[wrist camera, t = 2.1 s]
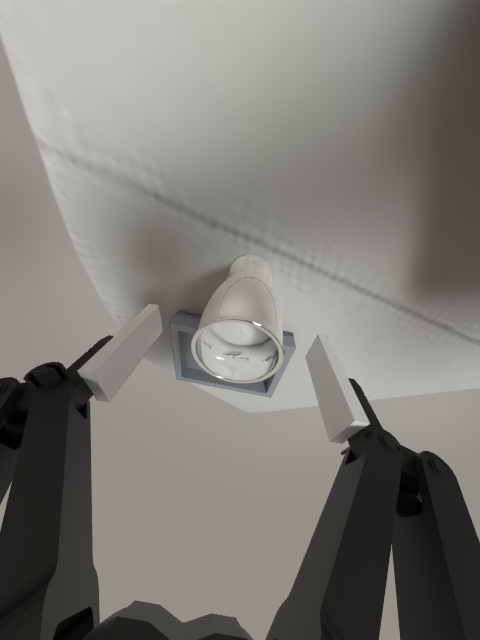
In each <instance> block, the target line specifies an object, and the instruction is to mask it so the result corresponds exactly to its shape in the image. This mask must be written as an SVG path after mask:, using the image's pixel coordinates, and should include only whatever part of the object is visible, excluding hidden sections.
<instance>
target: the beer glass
mask: <svg viewBox="0 0 480 640" xmlns="http://www.w3.org/2000/svg"><path fill="white" fill-rule="evenodd" d="M271 281H272V271H271V268H270V266H269V264H268V263H267V261H266V260H264V259H263V258H261V257H260V256H257V255H244V256H241V257H239V258H238V259H236V260H235V261H234V262H233V264H232V265H231V267H230V270H229V278H228V279H226V280H225V281H224V282H223V283H222V284H221V285H220V286H219V287H218V288H217V290H216V291H215V292H214V293H213V295H212V296H211V298H210V300H209V301H208V303H207V305H206V307H205V309H204V311H203V314H202V316H201V319H200V321H199V324H198V327H197V330H196V332H195V334H194V336H193V338H192V342H191V350H192V354H193V357H194V359H195V360H196V362H197V363H198V365H199V366H200V367H201V368H202V369H203V370H205V371H206V372H207V373H209V374H210V375H212V376H214V377H216V378H219V379H221V380H224V381H228V382H233V383H254V382H259V381H262V380H265V379H267V378H269V377H270V376H272V375H273V374H275V373H276V372H277V371H278V369H279V368H280V367H281V365H282V362H283V358H284V350H283V324H282V315H281V310H280V305H279V302H278V299H277V297H276V294H275V292H274V291H273V289H272V287H271V285H270V284H271Z"/></svg>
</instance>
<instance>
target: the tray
mask: <svg viewBox="0 0 480 640" xmlns="http://www.w3.org/2000/svg"><path fill="white" fill-rule="evenodd" d="M200 319H201V315H196V314H191V313H185V312H180V311H178V312H177V314H176V315H175V316H174V318H173V319H172V320H171V322H170V323H169V326H170V333H171V341H172V349H173V356H174V364H175V372H176V379H178V380H182V381H187V382H192V383H197V384H203V385H208V386H213V387H218V388H223V389H229V390H234V391H239V392H244V393H249V394H255V395H260V396H265V397H270V398H271V397H272V395H273V393H274V391H275V389H276V386H277V384H278V382H279V380H280V378H281V376H282V374H283V372H284V370H285V368H286V366H287V364H288V362H289V360H290V358H291V356H292V354H293V352H294V350H295V348H296V346H295V341H294V337H293V333H290V332H285V331H283V350H284V358H283V362H282V365H281V367H280V368H279V369H278V371H277V372H276V373H275V374H273V375H272V376H270V377H269V378H267V379H265V380H262V381H259V382H254V383H233V382H228V381H224V380H221V379H219V378H216V377H214V376H212V375H210V374H209V373H207V372H206V371H205V370H203V369H202V368H201V367H200V366H199V365H198V363H197V362H196V360H195V359H194V357H193V354H192V350H191V342H192V338H193V336H194V334H195V332H196V330H197V327H198V324H199V321H200Z"/></svg>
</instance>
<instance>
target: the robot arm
mask: <svg viewBox="0 0 480 640" xmlns="http://www.w3.org/2000/svg"><path fill="white" fill-rule="evenodd" d="M162 332H163V328H162V322H161V316H160V309H159V305H156V304H150V303H149V304H148V305H147V306H146V307H145V308H144V309H143V310H142V311H141V312H140V313H139V314H138V315H137V316H135V317H134V318H133V319H132V320H131V321H130V322H129V323H128V324H127V325H126V326H125V327H124V328H123V329H122V330H120V331H119V332H118V333H117V334H116V335H115V336H107V337H105V338H103V339H101V340H100V341H98V342H97V343H96V344H95V345H94V346H93V347H92V348H90V349H89V350H88V352H86V353H85V354H84V355H82V356H81V357H80V358H79V359H78V360H77V361H76V362H74V363H73V364H72V365H71V366H70V367H69V368H68V369H66V368H65V367H64V366H63V364H61V363H59V362H50V363H45V364H43V365H40V366H38V367H36V368H34V369H32V370H31V371H30V372H29V373H27V374H26V376H25V377H24V380H25V381H26V383H20V382H19V381H18V380H17V379H15V378H12V377H8V378H2V379H0V504H1V502H2V500H3V498H4V496H5V494H6V492H7V490H8V488H9V486H10V484H11V482H12V484H11V489H10V493H9V497H8V501H7V506H6V510H5V514H4V518H3V522H2V527H1V531H0V640H253V639H252V638H251V636H250V635H249V634H248V633H247V632H246V631H245V630H244V629H243V628H242V627H241V626H240V625H239V623H238V621H237V619H236V618H233V617H227V616H222V615H217V614H209V615H206V616H203V617H200V618H197V619H194V620H191V621H189V622H185V623H183V622H181V621H179V620H178V619H177V618H176V617H174V616H173V615H172V614H171V613H169V612H168V611H167V610H166V609H164V608H163V607H162V606H161V605H157V604H152V603H146V602H140V601H134V602H133V603H132V604H131V605H130V606H128V607H127V608H123V609H121V610H120V611H118V612H116V613H114V614H112V615H111V616H110V617H108V618H107V619H106V620H104V621H103V622H102V623H100V617H99V586H98V577H97V572H96V570H95V568H94V565H93V557H92V501H91V500H92V495H91V436H90V435H91V434H90V433H91V432H90V402H89V399H90V398H91V397H92V396H93V395H94V397H95V398H96V400H99V401H105V402H110V401H111V400H112V399H113V397H114V396H115V394H116V393H117V392H118V391H119V389H120V388H121V387H122V385H123V384H124V383H125V381H126V380H127V379H128V377H129V376H130V374H131V373H132V372H133V370H134V369H135V368H136V366H137V365H138V364H139V362H140V361H141V360H142V358H143V357H144V356H145V354H146V353H147V352H148V350H149V349H150V348H151V346H152V345H153V344H154V342H155V341H156V340H157V338H158V337H159V336H160V334H161V333H162ZM305 357H306V361H307V364H308V368H309V371H310V375H311V378H312V382H313V386H314V389H315V393H316V396H317V400H318V403H319V407H320V410H321V414H322V417H323V421H324V424H325V428H326V432H327V435H328V439H329V442H335V443H341V444H342V443H344V442H345V441H346V440H348V442H349V445H350V446H349V447H348V448H346V449H345V450H343V451H342V452H341V454H342V455H343V454H345V456H344V459H343V461H342V463H341V466H340V468H339V471H338V474H337V476H336V478H335V481H334V484H333V486H332V489H331V492H330V494H329V496H328V499H327V501H326V504H325V506H324V509H323V511H322V514H321V517H320V519H319V522H318V524H317V527H316V529H315V532H314V534H313V537H312V539H311V542H310V544H309V547H308V549H307V552H306V554H305V557H304V559H303V562H302V564H301V567H300V570H299V572H298V574H297V577H296V580H295V582H294V585H293V587H292V590H291V592H290V594H289V596H288V598H287V599H286V600H285V601H284V602H283V604H282V605H281V607H280V608H279V610H278V611H277V614H276V616H275V618H274V620H273V623H272V625H271V628H270V630H269V633H268V635H267V638H266V640H379V632H380V626H381V618H382V610H383V603H384V596H385V588H386V581H387V573H388V566H389V557H390V551H391V544H392V551H393V562H394V573H395V584H396V596H397V607H398V618H399V629H400V639H401V640H480V542H479V539H478V537H477V535H476V531H475V528H474V526H473V523H472V520H471V517H470V514H469V512H468V509H467V506H466V503H465V501H464V498H463V495H462V492H461V489H460V487H459V484H458V481H457V479H456V476H455V475H454V473H453V471H452V470H451V469H450V467H449V466H448V465H447V464H446V463H445V462H444V461H443V460H442V459H441V458H440V457H438V456H437V455H435V454H434V453H431V452H429V451H422V452H420V453H416V452H414V451H412V450H410V449H408V448H406V447H404V446H402V445H400V444H399V442H398V441H397V440H396V438H395V437H394V436H393V435H391V434H390V433H389V432H387V431H386V430H383V428H382V426H381V425H380V423H379V421H378V419H377V417H376V415H375V414H374V411H373V409H372V408H371V406H370V404H369V403H368V400H367V398H366V396H364V393H363V391H362V389H361V387H360V386H359V384H358V383H357V382H356V381H355V380H354V379H350V378H348V377H347V375H346V373H345V371H344V369H343V367H342V365H341V363H340V361H339V359H338V357H337V355H336V353H335V350H334V348H333V346H332V344H331V342H330V340H329V338H328V336H326V335H320V334H318V335H317V337H316V339H315V340H314V342H313V344H312V346H311V348H310V349H309V351H308V353H307V355H306V356H305Z"/></svg>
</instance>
